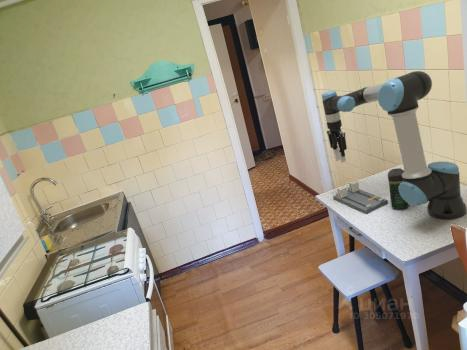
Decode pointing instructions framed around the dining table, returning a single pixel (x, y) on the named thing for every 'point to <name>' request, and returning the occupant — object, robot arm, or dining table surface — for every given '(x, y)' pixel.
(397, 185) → the coffee jar
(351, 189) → the fader
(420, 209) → the dining table surface
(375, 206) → the console
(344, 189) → the fader
